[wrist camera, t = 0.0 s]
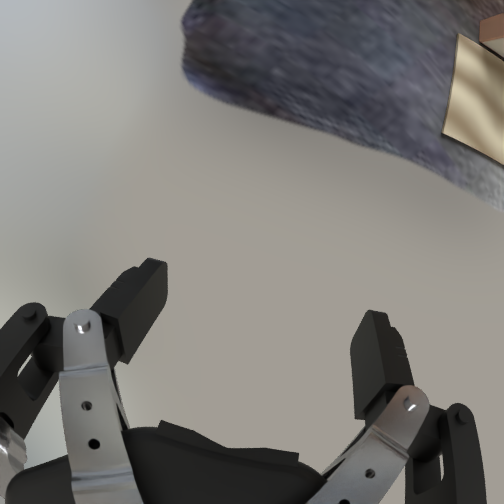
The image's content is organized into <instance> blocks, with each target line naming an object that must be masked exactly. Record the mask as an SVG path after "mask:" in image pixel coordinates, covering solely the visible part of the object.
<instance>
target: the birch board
mask: <svg viewBox="0 0 504 504" xmlns="http://www.w3.org/2000/svg"><path fill="white" fill-rule="evenodd" d="M441 133H443V134H446V135H448V136H450V137H452V138H454V139H456V140H458V141H460V142H462V143H464V144H466V145H468V146H470V147H472V148H474V149H476V150H478V151H480V152H481V153H483V154H485V155H487V156H489V157H490V158H492V159H494V160H496V161H497V162H499V163H501V164H502V165H504V61H502V60H501V59H499V58H498V57H496V56H495V55H493V54H492V53H491V52H489V51H487V50H486V49H484V48H483V47H481V46H480V45H478V44H476V43H475V42H473V41H471V40H470V39H468V38H466V37H465V36H463V35H461V34H457V42H456V52H455V61H454V69H453V76H452V82H451V88H450V94H449V99H448V104H447V109H446V114H445V119H444V123H443V128H442V132H441Z"/></svg>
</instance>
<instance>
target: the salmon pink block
mask: <svg viewBox="0 0 504 504" xmlns="http://www.w3.org/2000/svg"><path fill="white" fill-rule="evenodd" d="M479 42H481V43H482V44H484V45H485V46H487V47H489V48H490V49H492V50H493V51H495V52H496V53H497V54H499V55H500V56H502V57H503V58H504V13H502V14H499V15H496V16H493V17H490V18H487V19H484V20H481V21H480V34H479Z"/></svg>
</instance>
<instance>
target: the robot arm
mask: <svg viewBox="0 0 504 504" xmlns="http://www.w3.org/2000/svg"><path fill="white" fill-rule="evenodd" d="M167 282H168V278H167V263H166V262H164V261H160V260H156V259H153V258H147V259H146V260H145V261H144V262H143V263H142V264H141V266H140V267H139V268H138V267H132V268H130V269H128V270H126V271H124V272H123V273H122V274H121V275H120V276H119V277H118V278H117V279H116V281H115V282H113V283H112V285H111V286H110V287H109V288H108V289H107V290H106V291H105V292H104V293H103V294H102V296H101V297H100V298H99V299H98V300H97V301H96V302H95V303H94V304H93V306H92V307H91V308H90V309H81V310H77V311H74V312H72V313H71V314H69V315H68V316H67V317H66V318H60V317H54V316H48V314H47V311H46V309H45V307H44V306H43V305H42V304H40V303H28V304H25V305H23V306H21V307H20V308H19V309H18V310H17V311H16V312H15V313H14V315H12V317H11V318H10V319H9V320H8V321H7V322H6V324H4V326H3V327H2V328H1V329H0V496H2V497H3V498H4V499H5V504H379V502H380V501H381V500H382V498H383V497H384V495H385V494H386V493H387V491H388V490H389V489H390V487H391V485H392V484H393V483H394V481H395V480H396V478H397V477H398V475H399V474H400V472H401V470H402V469H403V467H404V466H405V504H487V501H486V489H485V478H484V470H483V462H482V456H481V450H480V444H479V439H478V434H477V429H476V424H475V420H474V416H473V414H472V412H471V411H470V409H469V408H468V407H467V406H465V405H463V404H461V403H455V404H452V405H451V406H450V407H449V408H448V409H447V410H443V409H441V408H438V407H435V406H432V405H430V404H429V400H428V398H427V396H426V394H425V393H424V392H423V391H422V390H420V389H419V388H418V387H415V386H414V381H413V377H412V373H411V369H410V365H409V361H408V358H407V354H406V350H405V349H404V348H405V347H404V343H403V339H402V337H401V335H400V334H399V332H398V331H397V330H396V328H395V327H391V326H390V322H389V319H388V315H387V314H386V313H383V312H378V311H373V310H368V311H367V312H366V313H365V315H364V317H363V319H362V321H361V323H360V325H359V327H358V329H357V331H356V333H355V335H354V337H353V339H352V342H351V347H350V356H351V366H352V379H353V394H354V411H355V412H354V413H355V419H360V420H365V426H364V427H363V429H362V430H361V431H360V432H359V433H358V434H357V436H356V437H355V438H354V439H353V440H352V442H351V443H350V444H349V445H348V446H347V448H345V450H344V451H343V452H342V453H341V454H340V455H339V456H338V457H337V458H336V459H335V460H334V462H333V463H331V464H330V466H328V467H327V468H326V469H325V470H324V471H323V472H322V473H321V474H319V473H318V472H317V471H316V470H314V469H313V468H311V467H309V466H308V465H306V464H304V463H302V462H299V461H298V458H299V453H296V452H289V451H282V450H275V449H270V448H226V447H223V446H222V445H220V444H218V443H216V442H214V441H212V440H210V439H208V438H206V437H204V436H202V435H201V434H199V433H197V432H195V431H193V430H190V429H187V428H184V427H180V426H177V425H174V424H171V423H168V422H165V421H163V420H161V421H160V423H159V425H158V427H137V428H132V429H130V426H129V423H128V420H127V417H126V414H125V411H124V407H123V404H122V399H121V395H120V391H119V387H118V382H117V377H116V373H115V369H114V367H115V365H116V363H117V362H118V361H121V362H123V363H126V364H129V362H130V360H131V358H132V357H133V355H134V354H135V352H136V351H137V349H138V347H139V346H140V344H141V342H142V341H143V339H144V338H145V336H146V334H147V333H148V331H149V330H150V328H151V326H152V325H153V323H154V321H155V320H156V319H157V317H158V315H159V314H160V312H161V311H162V309H163V308H164V306H165V303H166V300H167V294H168V285H167V284H168V283H167ZM30 354H31V356H32V357H31V359H30V360H29V362H28V363H27V364H26V366H25V367H24V369H23V370H22V371H21V373H20V374H19V376H18V377H17V375H18V371H19V369H20V368H21V366H22V365H23V363H24V362H25V361H26V359H27V358H28V357H29V355H30ZM58 380H59V390H60V402H61V411H62V420H63V428H64V434H65V441H66V446H67V452H68V454H67V455H65V456H62V457H59V458H57V459H54V460H51V461H49V462H46V463H43V464H40V465H37V466H34V467H31V468H28V469H25V470H24V463H26V461H27V455H26V446H25V443H24V439H25V437H26V435H27V434H28V432H29V430H30V428H31V426H32V424H33V423H34V420H35V419H36V417H37V415H38V414H39V412H40V410H41V408H42V407H43V405H44V403H45V402H46V400H47V398H48V396H49V395H50V393H51V392H52V390H53V388H54V386H55V385H56V383H57V382H58ZM441 454H442V455H443V466H444V476H443V479H442V481H441V470H440V458H439V456H440V455H441Z"/></svg>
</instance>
